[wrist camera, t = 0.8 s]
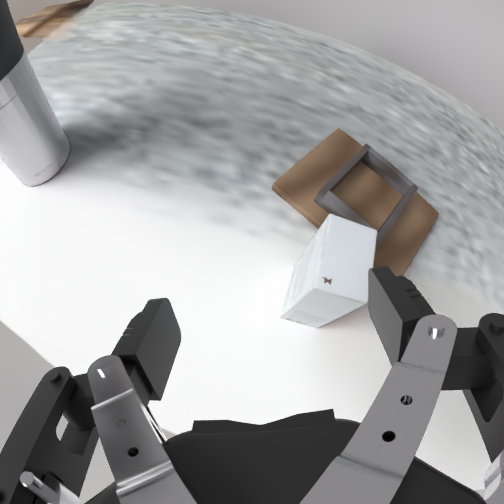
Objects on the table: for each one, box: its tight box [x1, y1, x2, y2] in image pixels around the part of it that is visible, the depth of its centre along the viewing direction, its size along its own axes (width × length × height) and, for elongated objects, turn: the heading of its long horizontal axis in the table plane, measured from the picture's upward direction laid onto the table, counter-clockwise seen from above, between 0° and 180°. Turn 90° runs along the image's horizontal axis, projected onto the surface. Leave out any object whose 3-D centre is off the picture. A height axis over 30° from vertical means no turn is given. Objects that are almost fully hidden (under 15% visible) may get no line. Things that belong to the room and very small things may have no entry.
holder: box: [272, 128, 439, 276], centre depth 35 cm, size 18×14×4 cm
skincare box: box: [280, 214, 377, 328], centre depth 27 cm, size 6×4×12 cm
